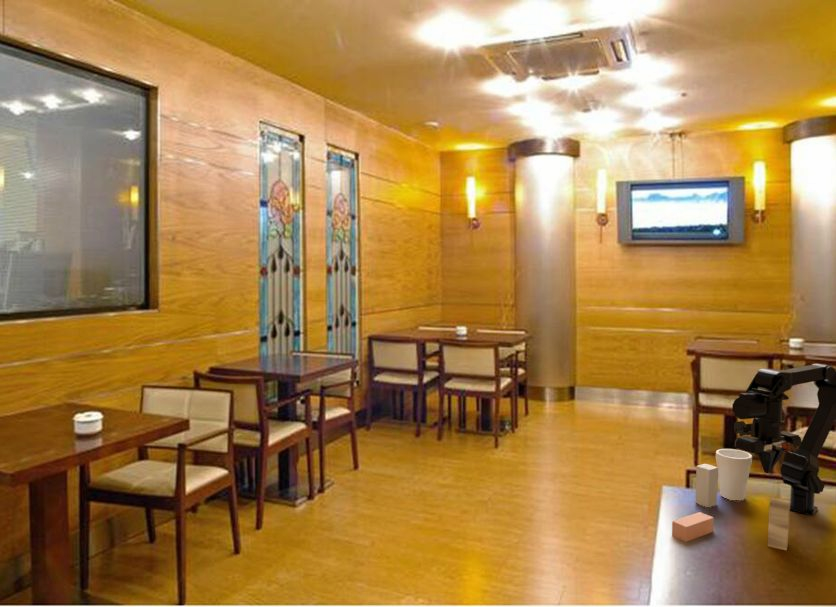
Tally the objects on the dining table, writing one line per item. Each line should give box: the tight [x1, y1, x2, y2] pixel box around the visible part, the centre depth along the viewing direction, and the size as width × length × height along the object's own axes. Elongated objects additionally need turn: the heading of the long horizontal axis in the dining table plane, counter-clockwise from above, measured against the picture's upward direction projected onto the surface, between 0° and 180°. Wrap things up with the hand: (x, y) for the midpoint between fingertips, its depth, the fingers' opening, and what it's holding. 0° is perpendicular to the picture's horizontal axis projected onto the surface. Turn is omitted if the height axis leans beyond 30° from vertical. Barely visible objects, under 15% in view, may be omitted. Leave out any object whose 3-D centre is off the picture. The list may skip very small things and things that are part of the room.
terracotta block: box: [671, 511, 715, 542], centre depth 160 cm, size 4×4×11 cm
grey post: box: [694, 463, 719, 508], centre depth 179 cm, size 4×4×11 cm
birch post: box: [767, 496, 791, 551], centre depth 153 cm, size 4×4×11 cm
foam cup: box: [715, 448, 753, 501], centre depth 184 cm, size 10×9×13 cm
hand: (766, 472), depth 170 cm, fingers closed
